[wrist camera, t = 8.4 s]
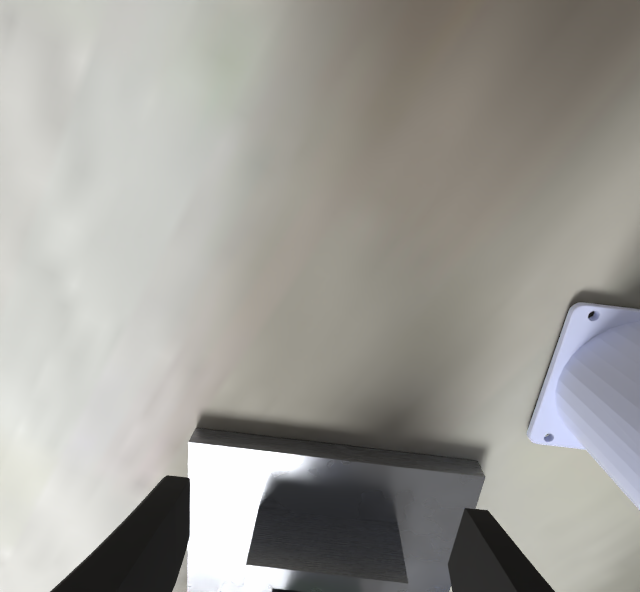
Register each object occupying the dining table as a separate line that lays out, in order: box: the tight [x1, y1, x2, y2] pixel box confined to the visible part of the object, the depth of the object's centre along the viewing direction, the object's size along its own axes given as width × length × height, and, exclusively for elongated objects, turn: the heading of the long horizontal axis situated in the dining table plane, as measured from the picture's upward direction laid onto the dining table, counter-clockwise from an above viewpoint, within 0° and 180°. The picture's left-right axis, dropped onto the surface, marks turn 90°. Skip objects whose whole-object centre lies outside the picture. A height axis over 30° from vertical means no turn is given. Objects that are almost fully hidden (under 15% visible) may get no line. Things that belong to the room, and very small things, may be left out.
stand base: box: [187, 428, 485, 592], centre depth 22 cm, size 16×16×4 cm
